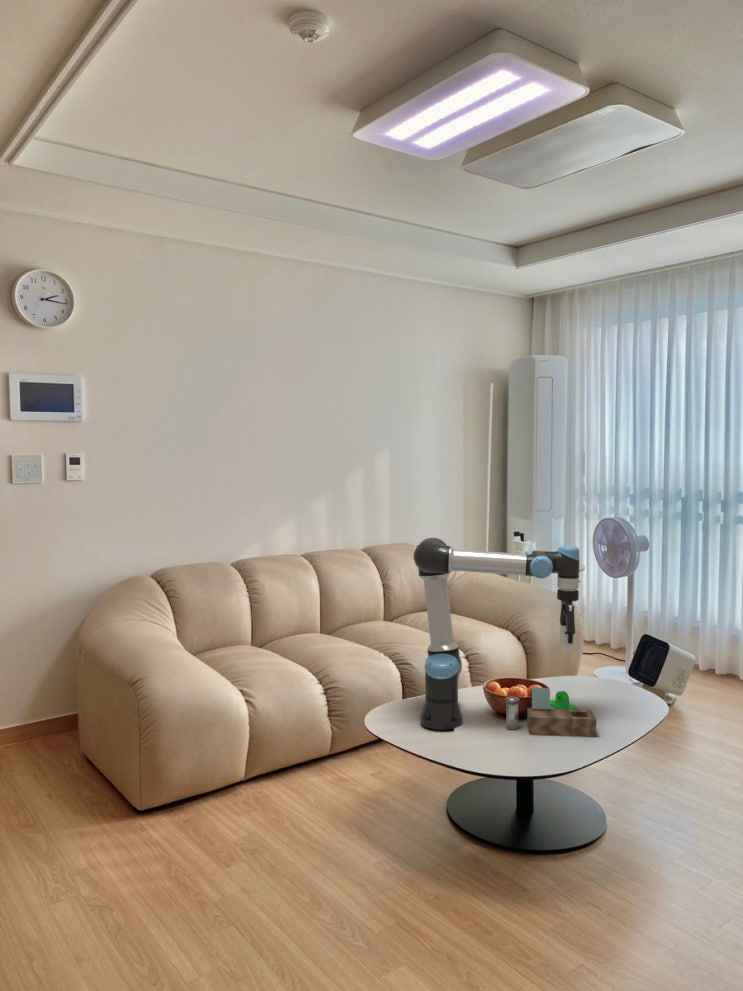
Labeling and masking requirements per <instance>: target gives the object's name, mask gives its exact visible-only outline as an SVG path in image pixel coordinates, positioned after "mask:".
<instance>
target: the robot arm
mask: <svg viewBox="0 0 743 991" xmlns="http://www.w3.org/2000/svg"><path fill="white" fill-rule="evenodd" d="M413 561H414V564H415V566H416V567H417V569H418V577H419V578H420V579H422V580H423V585H424V586H423V587H424V596H425V603H426V604H425V605H426V613H427V614H426V615H427V623H428V631H429V632H428V633H429V639H430V640H429V641H430V644H429V645H428V646H427V656H428V657H427V658H426V659H425V662H424V663H425V664H424V671H425V673H424V675H425V677H424V679H425V681H424V691H425V693H424V694H425V696H424V697H425V698H424V704H423V705H422V706H423V707H422V710H421V713H420V717H419V720H420V722H421V723H420V724H421V726H423V725H424V727H426V728H429V729H433V730H453V729H454V730H455V729H457V728H459V727H461V726H462V725H463V724H464V717H463V713H462V710H461V707H460V704H459V678H460V675H461V673H462V667H463V662H462V659H461V656H460V650H459V645H458V643H456V642H455V641H454V640H455V639H454V631H453V622H452V613H451V604H450V603H451V602H450V596H449V587H448V579H447V578H448V576H449V575H450V574H451V573H452V572H454V571H455V572H465V573H466V572H467V573H470V572H471V573H483V574H495V575H496V574H500V575H510V576H513V575H514V576H526V577H535V578H537V579H546V578H548V577H549V576H550V575H551V574H552V573H557V579H556V580H557V584H556V587H557V590H556V591H557V592H556V593H557V594H556V598H557V600H558V601H560V602H561V605H560V616H559V617H560V618H559V622H560V623H559V624H560V628H559V629H560V630H559V631H560V632H559V633H560V635H559V637H560V638H559V643H560V644H565V653H575V652H574V650H575V649H574V648H575V646H574V645H575V634H576V625H575V605H573V603H574V602H578V601H579V599H580V598H579V596H580V594H579V593H580V592H579V588H580V586H579V585H580V583H581V582H582V581H581V580H580V563H581V562H580V549H579V547H577V546H575V545H574V546H573V545H559V546H558V548H557V551H549V550H548V551H547V550H545V551H544V550H526V551H524V553H517V552H516V553H515V552H514V553H513V552H501V551H500V552H499V551H483V550H471V549H470V550H469V549H467V550H466V549H455V548H454V547H453V546H452V545H448V544H447V543H446V542H445V541H443V540H442V539H441V538H438V537H427V538H425V539H423V540H422V541H421V542H420V543H419V544H418V545H416V548H415V550H414V552H413Z"/></svg>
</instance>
